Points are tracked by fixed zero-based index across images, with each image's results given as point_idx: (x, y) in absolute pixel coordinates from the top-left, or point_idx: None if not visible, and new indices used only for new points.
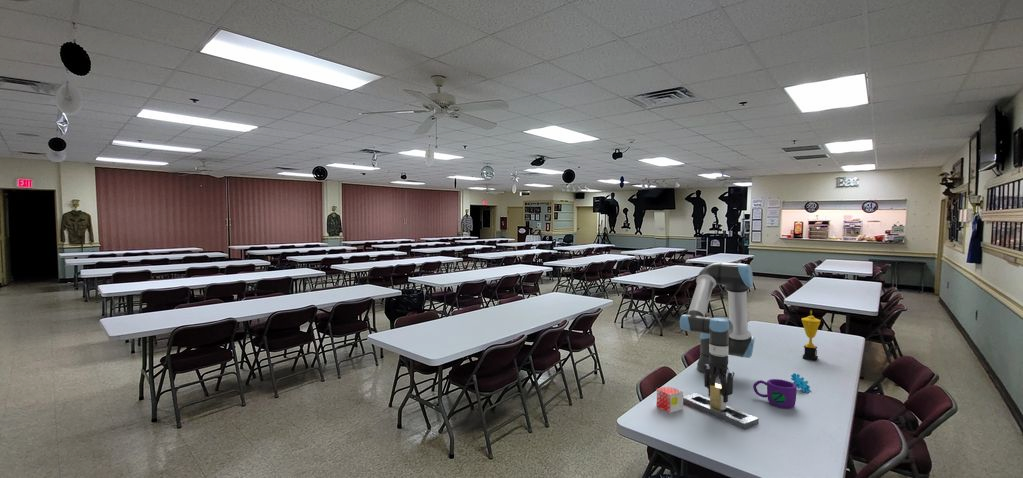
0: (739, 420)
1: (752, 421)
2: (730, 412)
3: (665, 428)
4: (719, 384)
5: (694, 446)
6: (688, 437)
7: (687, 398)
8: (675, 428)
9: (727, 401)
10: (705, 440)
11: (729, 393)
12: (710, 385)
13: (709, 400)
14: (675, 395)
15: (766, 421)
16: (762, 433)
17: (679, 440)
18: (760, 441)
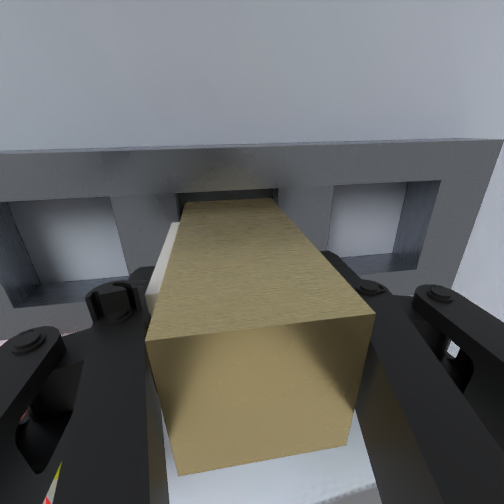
0: (419, 283)
1: (471, 213)
2: (301, 187)
3: (233, 490)
4: (233, 345)
5: (354, 474)
6: (313, 465)
7: (5, 324)
8: (249, 470)
9: (334, 259)
10: (356, 439)
11: (446, 361)
12: (183, 468)
13: (96, 195)
14: (52, 495)
15: (497, 29)
16: (498, 226)
17: (309, 488)
18: (500, 297)
